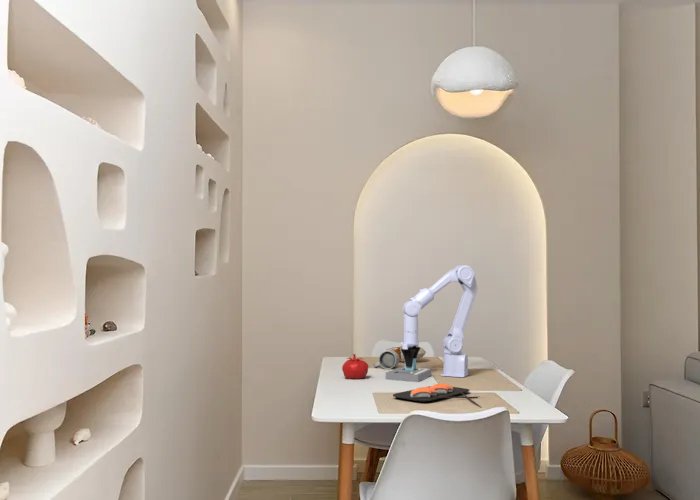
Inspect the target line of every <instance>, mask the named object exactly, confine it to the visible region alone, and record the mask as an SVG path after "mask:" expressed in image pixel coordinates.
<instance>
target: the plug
mask: <svg viewBox="0 0 700 500" xmlns="http://www.w3.org/2000/svg"><path fill="white" fill-rule="evenodd" d="M404 368H405V370H413V371H415V370H416V368H417V360H416V358H413V362H412V367H406V364H405V363H404Z"/></svg>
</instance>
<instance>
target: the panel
mask: <svg viewBox="0 0 700 500" xmlns="http://www.w3.org/2000/svg"><path fill="white" fill-rule="evenodd" d="M431 376H432V369H430V368H418V367H416V370H415V371H413V370H405V366H404V367H401V366H399V367H397V368H394V369H392V370H389V371H387V372H385V380H389V381H391V380H392V381H401V382H402V381H404V382H413V383H414V382H421V381H422V380H425V379H427V378H429V377H431Z"/></svg>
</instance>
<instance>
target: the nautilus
mask: <svg viewBox="0 0 700 500" xmlns="http://www.w3.org/2000/svg"><path fill="white" fill-rule="evenodd" d="M416 347H420V346H416ZM401 348H403V345H401V346H396V347H394V346H393V347H392V346H391V347H390V348H386V351H390V350H391V351H395V352H396V353H397V354H398V355H399V362H401V363H405V359H404V356H403V353H402V351H401ZM426 353H427V351H426V350H425V349H424V348H423V347H420V350H419V352H418V355H417V358H416V361H418V360H419V359H421V358H423V357H424V356H425V355H426Z"/></svg>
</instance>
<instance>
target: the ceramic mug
mask: <svg viewBox="0 0 700 500" xmlns="http://www.w3.org/2000/svg"><path fill="white" fill-rule="evenodd" d="M389 350H390V351H389ZM389 350H385V351H382V352H381V353H380V355H379V356H378V361H377V362H375V363H373V367H374V368H377V367H381V368H382V369H384V370H390V369H393V368H396V367H397V366H398V365H399V364H400V361H399V355H398V354H397V353H396V352H395V351H393V350H392V349H389ZM391 350H392V351H391Z"/></svg>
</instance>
